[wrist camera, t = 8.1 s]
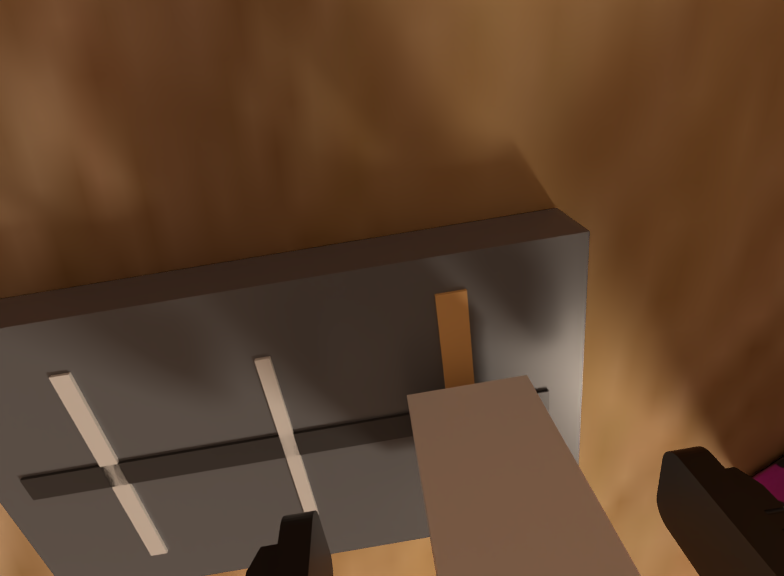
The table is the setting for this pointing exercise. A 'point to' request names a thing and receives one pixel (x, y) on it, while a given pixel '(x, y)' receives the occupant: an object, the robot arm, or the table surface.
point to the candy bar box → (773, 479)
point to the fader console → (271, 390)
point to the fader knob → (507, 487)
